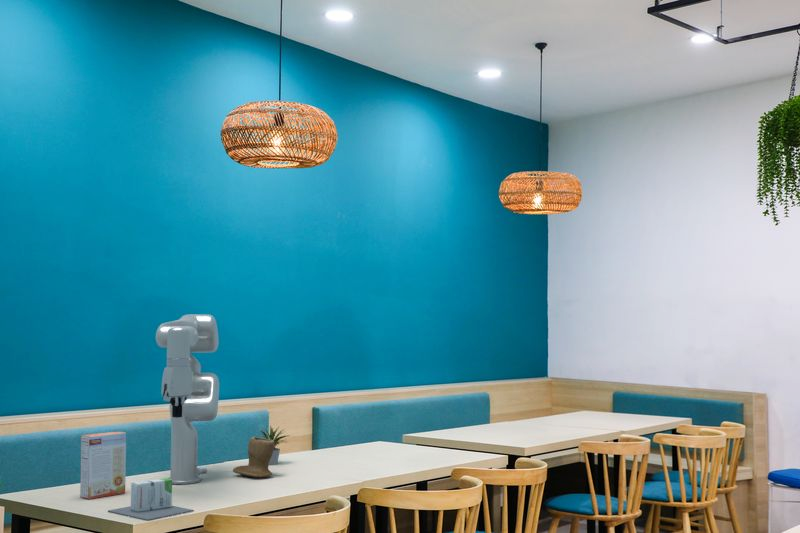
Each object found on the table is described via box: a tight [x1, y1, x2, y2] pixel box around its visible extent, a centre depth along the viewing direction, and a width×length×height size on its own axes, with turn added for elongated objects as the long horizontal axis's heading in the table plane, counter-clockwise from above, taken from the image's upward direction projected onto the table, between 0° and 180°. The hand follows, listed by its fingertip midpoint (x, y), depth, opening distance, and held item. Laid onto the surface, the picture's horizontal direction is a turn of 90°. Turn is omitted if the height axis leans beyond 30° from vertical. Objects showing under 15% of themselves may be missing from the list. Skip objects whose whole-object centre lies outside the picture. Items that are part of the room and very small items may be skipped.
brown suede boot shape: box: [232, 436, 276, 478], centre depth 331 cm, size 15×12×15 cm
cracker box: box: [79, 430, 127, 500], centre depth 292 cm, size 14×6×21 cm, turn 140°
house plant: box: [260, 425, 291, 466], centre depth 359 cm, size 14×14×16 cm
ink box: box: [130, 477, 173, 512], centre depth 269 cm, size 9×5×12 cm
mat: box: [107, 505, 195, 521], centre depth 266 cm, size 17×20×1 cm
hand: (177, 417), depth 294 cm, fingers closed
